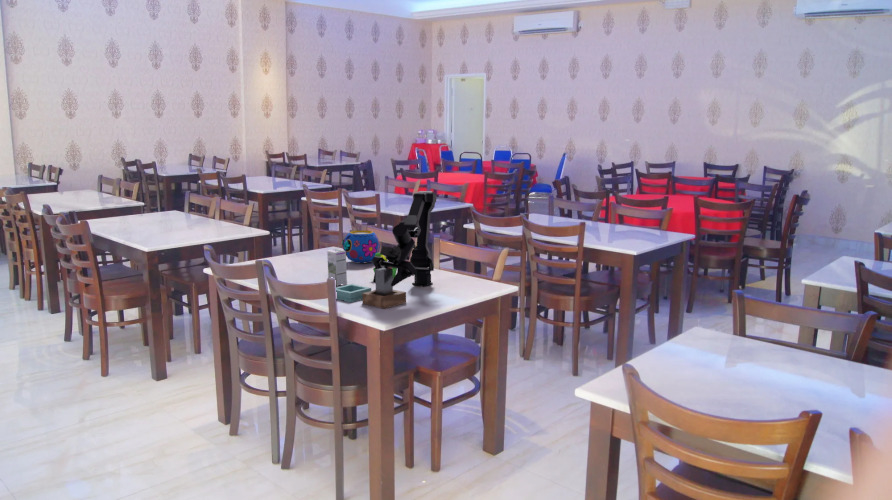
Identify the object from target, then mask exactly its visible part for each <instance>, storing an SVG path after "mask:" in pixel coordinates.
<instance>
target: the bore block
mask: <svg viewBox="0 0 892 500" xmlns="http://www.w3.org/2000/svg"><path fill="white" fill-rule="evenodd" d="M362 297H363V299H362V304H363V305H366V306H371V307H375V308H380V309H383V310H386V309H389V308H392V307H396V306H399V305H403V304H406V303H407V292H406V291H402V290H397V289H393V294H391V295H387V296H381V295H376V289H374V290H371V291H370V292H366V293H362Z"/></svg>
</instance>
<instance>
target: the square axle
mask: <svg viewBox="0 0 892 500" xmlns="http://www.w3.org/2000/svg"><path fill="white" fill-rule="evenodd" d="M374 274H375V280H376V283H375V290H376V295H381V296H387V295H391V294H393V290H394V286H391V283H392V281H393V279H394V277H393V271H392V269H389V268H380V269H375V273H374Z"/></svg>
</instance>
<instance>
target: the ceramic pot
mask: <svg viewBox="0 0 892 500" xmlns="http://www.w3.org/2000/svg"><path fill="white" fill-rule="evenodd" d="M341 245H342V250H344V251H346V259H348V260H350V261H351V262H353V263H356V262H360V263H359V264H365V263H364V262H367V263H370V262H372V259H373V257H375V254H376V253H380V250H381V249H380V248H381V245H380V239H379V238H378V236H377V234H376V233H375V232H374V231H372V230H363V229H362V230H351V231H349V232H348V233H347V234H346V236H345V237H344V238H342V241H341Z"/></svg>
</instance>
